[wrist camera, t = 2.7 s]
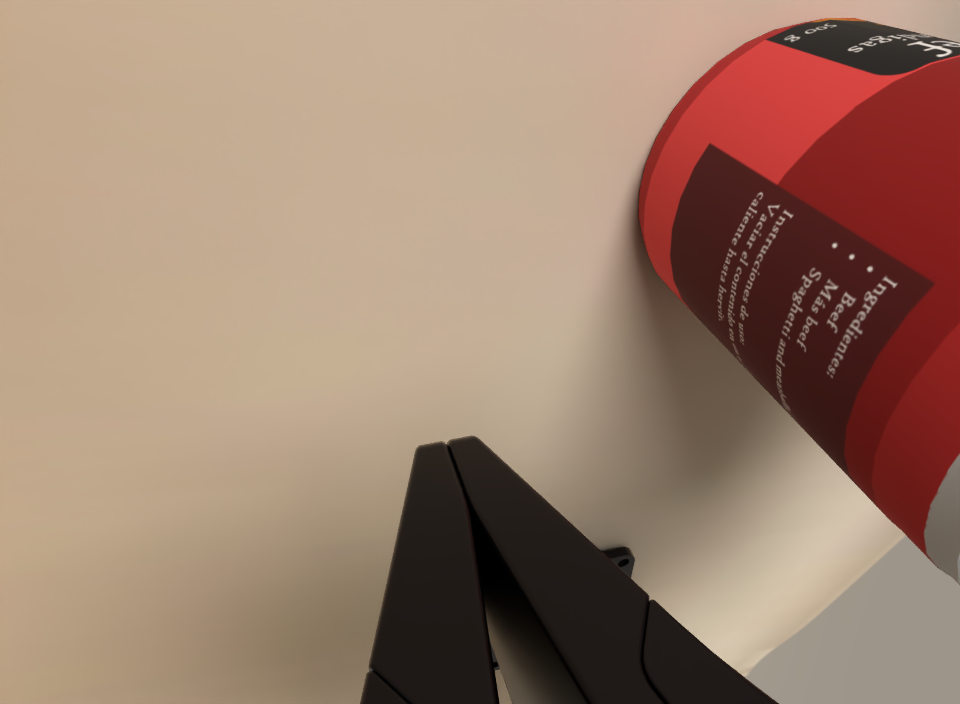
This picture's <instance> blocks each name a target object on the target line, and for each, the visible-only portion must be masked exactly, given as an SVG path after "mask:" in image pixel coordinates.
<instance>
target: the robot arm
mask: <svg viewBox="0 0 960 704" xmlns="http://www.w3.org/2000/svg"><path fill="white" fill-rule="evenodd" d="M634 561H635V558H634V556H633V554H632V552H631V550H630V549H629V548H627V547H621V548H617V549H613V550H608V551H604V552H601V551H600V550H599V549H598V548H597V547H596V546H595V545H594V544H593V543H592V542H591V541H589V540H588V539H587V538H586V537H585V536H584V535H583V534H582V533H581V532H580V531H579V530H578V529H576V528H575V527H574V526H573V525H572V524H571V523H570V522H569V521H568V520H567V519H566V518H565V517H563V516H562V515H561V514H560V513H559V512H558V511H557V510H556V509H555V508H554V507H553V506H551V505H550V504H549V503H548V502H547V501H546V500H545V499H544V498H543V497H542V496H541V495H540V494H538V493H537V492H536V491H535V490H534V489H533V488H532V487H531V486H530V485H529V484H528V483H527V482H525V481H524V480H523V479H522V478H521V477H520V476H519V475H518V474H517V473H516V472H515V471H514V470H512V469H511V468H510V467H509V466H508V465H507V464H506V463H505V462H504V461H503V460H502V459H500V458H499V457H498V456H497V455H496V454H495V453H494V452H493V451H492V450H491V449H490V448H489V447H487V446H486V445H485V444H484V443H483V442H482V441H481V440H480V439H479V438H478V437H475V436H467V437H462V438H457V439H452V440H449V441H448V442H447V445H446V444H445V442H435V443H430V444H425V445H420V446H418V447H417V449H416V451H415V455H414V460H413V464H412V469H411V473H410V478H409V483H408V487H407V492H406V496H405V501H404V506H403V510H402V515H401V519H400V524H399V529H398V533H397V538H396V543H395V547H394V552H393V556H392V561H391V566H390V570H389V575H388V579H387V584H386V589H385V593H384V598H383V602H382V607H381V612H380V616H379V621H378V626H377V630H376V635H375V639H374V644H373V649H372V653H371V658H370V662H369V672H368V673H367V675H366V679H365V684H364V688H363V693H362V697H361V702H360V704H499V697H498V690H497V684H496V677H495V670H499V669H500V670H501V672H502V675H503V678H504V681H505V683H506V686H507V689H508V692H509V694H510V698H511V701H512V704H779V703H777V702H776V701H775V700H773V699H772V698H771V697H769V696H768V695H767V694H765V693H764V692H763V691H762V690H760V689H759V688H758V687H756V686H755V685H754V684H752V683H751V682H750V681H749V680H747V679H746V678H745V677H743V676H742V675H741V674H740V673H738V672H737V671H736V670H735V669H733V668H732V667H731V666H730V665H728V664H727V663H726V662H724V661H723V660H722V659H721V658H719V657H718V656H717V655H716V654H714V653H713V652H712V651H711V650H710V649H708V648H707V647H706V646H705V645H704V644H703V643H702V642H700V641H699V640H698V639H697V638H696V637H695V636H694V635H692V634H691V633H690V632H689V631H688V630H687V629H686V628H684V627H683V626H682V625H681V624H680V623H679V622H678V621H676V620H675V619H674V618H673V617H672V616H671V615H670V614H669V613H668V612H667V611H666V610H665V609H664V608H662V607H661V606H660V605H659V604H658V603H657V602H656V601H655V600H650V601H649V595H648V594H647V593H646V592H645V591H644V590H643V589H642V588H640V587H639V586H638V585H637V584H636V583H635V582H634V581H633V580H632V579H631V575H632V570H633V566H634Z"/></svg>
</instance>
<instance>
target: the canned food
mask: <svg viewBox="0 0 960 704" xmlns="http://www.w3.org/2000/svg"><path fill="white" fill-rule="evenodd" d="M639 220H640V226H641V231H642V237H643V240H644V243H645V247H646V250H647V253H648V255H649V258H650V260H651V262H652V264H653V266H654V269H655V271H656V273H657V274H658V275H659V276H660V278H661V279H662V280H663V281H664V282H665V283H666V285H667V286H668V287H669V288H670V289H671V290H672V291H673V292H674V293H675V294H676V295H677V296H678V298H679V299H680V300H681V301H682V302H683V303H684V304H685V305H686V306H687V307H688V308H689V309H690V310H691V311H692V312H693V313H694V314H695V315H696V316H697V318H698V319H699V320H700V321H701V322H702V323H703V324H704V325H705V326H706V327H707V328H708V329H709V330H710V331H711V332H712V333H713V334H714V335H715V336H716V338H717V339H718V340H719V341H720V342H721V343H722V344H723V345H724V346H725V347H726V348H727V349H728V350H729V351H730V352H731V353H732V354H733V355H734V356H735V358H736V359H737V360H738V361H739V362H740V363H741V364H742V365H743V366H744V367H745V368H746V369H747V370H748V371H749V372H750V373H751V374H752V375H753V376H754V378H755V379H756V380H757V381H758V382H759V383H760V384H761V385H762V386H763V387H764V388H765V389H766V390H767V391H768V392H769V393H770V394H771V395H772V396H773V398H774V399H775V400H776V401H777V402H778V403H779V404H780V405H781V406H782V407H783V408H784V409H785V410H786V411H787V412H788V413H789V414H790V415H791V416H792V418H793V419H794V420H795V421H796V422H797V423H798V424H799V425H800V426H801V427H802V428H803V429H804V430H805V431H806V432H807V433H808V434H809V435H810V437H811V438H812V439H813V440H814V441H815V442H816V443H817V444H818V445H819V446H820V447H821V448H822V449H823V450H824V451H825V452H826V453H827V454H828V455H829V457H830V458H831V459H832V460H833V461H834V462H835V463H836V464H837V465H838V466H839V467H840V468H841V469H842V470H843V471H844V472H845V473H846V474H847V475H848V477H849V478H850V479H851V480H852V481H853V482H854V483H855V484H856V485H857V486H858V487H859V488H860V489H861V490H862V491H863V492H864V493H865V494H866V495H867V497H868V498H869V499H870V500H871V501H872V502H873V503H874V504H875V505H876V506H877V507H878V508H879V509H880V510H881V511H882V512H883V513H884V514H885V515H886V517H887V518H888V519H889V520H891V521H892V522H893V523H894V524H895V525H896V526H897V527H898V528H899V529H901V530H902V531H903V532H904V533H905V534H906V535H907V536H908V538H909V539H910V540H911V541H912V542H913V543H914V544H915V545H916V546H917V547H918V548H919V549H920V550H921V551H922V552H923V553H924V554H925V555H926V556H927V557H928V558H929V559H930V560H931V561H932V562H933V564H934V565H935V566H937V568H939V569H940V570H942V571H943V572H945V573H946V574H948V575H949V576H951V577H952V578H954V580H956V582H957V583H958V584H959V585H960V43H958V42H954V41H949V40H945V39H941V38H937V37H932V36H928V35H924V34H920V33H915V32H911V31H907V30H903V29H898V28H894V27H890V26H886V25H881V24H877V23H873V22H869V21H864V20H860V19H856V18H825V19H820V20H815V21H810V22H805V23H800V24H796V25H792V26H788V27H784V28H780V29H776V30H773V31H770V32H768V33H766V34H764V35H762V36H760V37H757V38H755V39H753V40H751V41H749V42H747V43H745V44H743V45H742V46H740V47H739V48H737V49H736V50H734V51H733V52H732V53H730V54H729V55H727V56H726V57H724V58H723V59H721V60H720V61H718V62H717V63H716V64H715V65H714V66H713V67H712V68H711V69H710V70H709V71H708V72H707V73H705V74H704V75H703V76H702V77H701V78H700V79H699V80H698V81H697V82H696V83H695V84H694V85H693V86H692V87H691V88H690V90H689V91H688V92H687V93H686V95H685V96H684V97H683V98H682V100H681V101H680V102H679V103H678V104H677V106H676V107H675V108H674V109H673V111H672V113H671V114H670V116H669V118H668V119H667V121H666V123H665V124H664V126H663V128H662V129H661V131H660V133H659V134H658V136H657V138H656V140H655V143H654V145H653V148H652V150H651V153H650V155H649V157H648V160H647V162H646V165H645V169H644V174H643V178H642V182H641V187H640V192H639Z"/></svg>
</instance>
